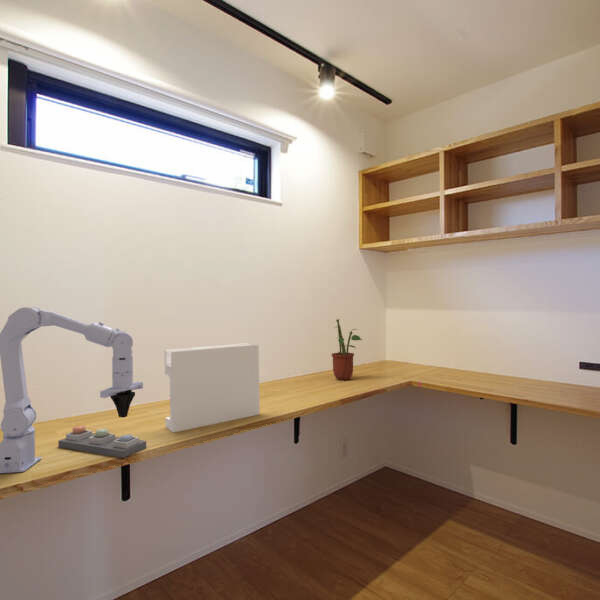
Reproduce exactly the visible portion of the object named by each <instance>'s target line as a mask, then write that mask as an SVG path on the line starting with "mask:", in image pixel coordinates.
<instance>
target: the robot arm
mask: <svg viewBox="0 0 600 600" xmlns="http://www.w3.org/2000/svg"><path fill="white" fill-rule="evenodd" d="M4 324H5V325H4V326H3V328H2V329H1V331H0V366H1V374H2V381H3V383H2V384H3V389H4V390H3V391H4V396H5V399H4V400H5V403H4V407H3V417H2V421H1V422H0V430H1V432H2V433H3V434H2V440H1V442H0V474H6V473H7V474H8V473H9V474H10V473H22V472H23V473H24V472H26V471H28V469H30V468H31V467H32V466H34V465H35V464H36V463H38V462H39V461H40V460H42V459H43V458H42V456H36V429H35V427H34V425H33V423H35V421H36V419H37V413H36V412H37V411H36V410H35V409H34V407H33V406H32V401H31V399H30V397H29V396H28V387H27V379H26V373H25V371H26V369H25V364H24V355H23V347H22V346H23V345H22V341H23V340H25V338H26V337H28V336H29V334H30V333H32V332H34V331H36V330H38V329H39V328H41V327H43V328H44V327H51V326H55V327H59V328H62V329H65V330H68V331H71V332H74V333H79V334H81V335H83V336H84V338H85V340H86V341H87V342H90V343H94V344H97V345H100V346H103V347H106V348H109V347H110V348H111V349H112V354H113V355H112V358H111V361H112V362H111V364H112V365H111V369H112V370H111V372H112V373H111V374H112V377H111V378H112V380H111V381H112V382H111V383H112V385H111V387H109V388H105V389H103V390H100V393H99V395H100V396H99V397H100V398H101V399H102V398H103V399H107V398H110V399H111V400H112V402H113V404H114V405H115V408H116V409H115V410H116V411H117V415H118V418H126V417H128V414H129V409H130V406H131V405H132V402H133V399H135V396H136V392H135V391H136V390H141V389H144V382H143V381H136V382H134V377H133V376H134V372H133V371H134V368H133V367H134V363H133V362H134V359H133V358H134V356H133V345H134V341H133V337H132V336H131V334H130V333H128V332H126V331H121V329H120V328H116V329H115V328H112V327H110V326H106V325H105V322H102V321H99V322H96V321H95V322H92V323H90V324H88V323H85V322H82V321H80V320H77V319H74V318H72V317H69V316H67V315H65V314H61V313H59V312H55V311H51V310H46V309H41V308H39V307H34V306H33V307H27V306H26V307H21V308H20V307H19V308H18V309H17V310H15V311H14V312H13V313H11V314H10V315H9V316H7V320H6V323H4Z"/></svg>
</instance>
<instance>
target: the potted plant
mask: <svg viewBox="0 0 600 600" xmlns="http://www.w3.org/2000/svg"><path fill="white" fill-rule="evenodd" d="M335 322H336V324H337V326H335V327H334V329H335V328H337V333H338V338H337V340H338V341H337V342H338V343H339V344H338V346H339V351H337V352H332V353H331V357H332V371H333V376H334V377H335V378H336V379H337V380H338V381H348V380H350V379H351V378H352V376H353V373H354V357H355V353H353V352H349V347H351V348H354V349H356V346H355V345H350V342H351V341H356V342H357V341H363V339H362V338H361V337H360V335H356V334H353V331H354V330H358V331H359V329H357V328H353V329H352V330H350V331H349V332H348V333H349V335H348V340H347V344H345V338H344V337H343V335H342V329H341V325H340V319H339V318H338V319H336V321H335Z"/></svg>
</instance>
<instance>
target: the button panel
mask: <svg viewBox="0 0 600 600" xmlns="http://www.w3.org/2000/svg"><path fill="white" fill-rule="evenodd" d="M57 444H58V445H57V446H58V448H63V449H66V450H67V449H69V450H73V451H74V450H75V451H80V452H85V453H91V454H92V453H93V454H98V455H101V456H102V455H103V456H104V455H105V456H110V457H114V458H121V459H124V458H127V457H129V456H131V455H133V454H136V453H138V452H139V451H142V450H145V449H147V441H146V440H140V437H138V436H133V440H130V441H128V442H121V441H120V436H116V434H115V433H112V432H111V433H109V432H108V435H107V436H103V437H96V436H95V433H94V432H93V431H92V430H90V429H89V430H88V429H85V432H83V433H77V434H74V433H73V431H70V432H68V433H66V434H65V438H63V439H60V440H58V443H57Z"/></svg>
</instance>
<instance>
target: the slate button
mask: <svg viewBox="0 0 600 600" xmlns="http://www.w3.org/2000/svg"><path fill="white" fill-rule="evenodd" d="M119 437H120V441H121V442H128V441H130V440H133V437H134V436H133V434H129V433H128V434H123V435H121V436H119Z"/></svg>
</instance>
